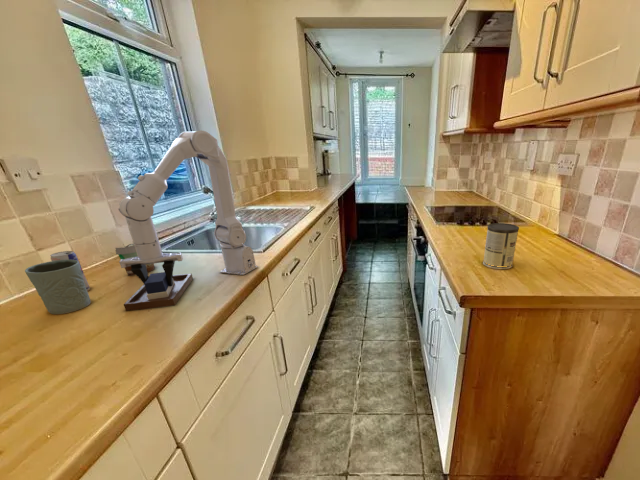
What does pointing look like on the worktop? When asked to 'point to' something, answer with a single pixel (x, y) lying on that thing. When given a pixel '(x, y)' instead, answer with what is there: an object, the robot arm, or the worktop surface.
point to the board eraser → (157, 286)
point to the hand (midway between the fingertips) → (160, 286)
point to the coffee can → (500, 245)
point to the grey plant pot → (60, 285)
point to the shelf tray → (142, 302)
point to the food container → (130, 253)
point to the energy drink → (68, 256)
